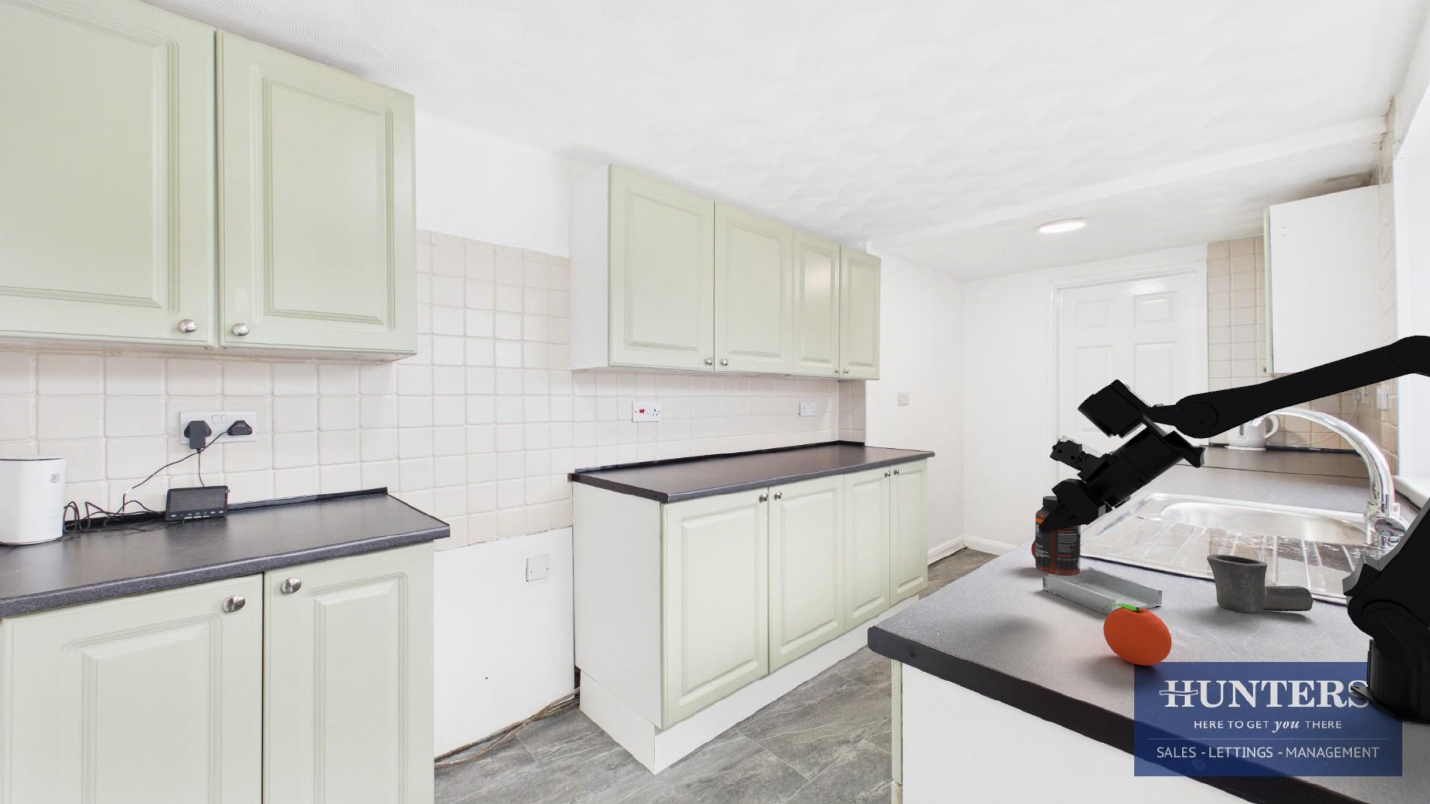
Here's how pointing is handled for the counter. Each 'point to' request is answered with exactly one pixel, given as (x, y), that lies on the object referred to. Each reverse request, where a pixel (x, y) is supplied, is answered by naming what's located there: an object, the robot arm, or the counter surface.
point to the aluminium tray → (1102, 590)
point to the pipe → (1253, 587)
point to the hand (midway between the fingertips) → (1047, 526)
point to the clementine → (1137, 635)
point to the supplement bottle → (1056, 545)
